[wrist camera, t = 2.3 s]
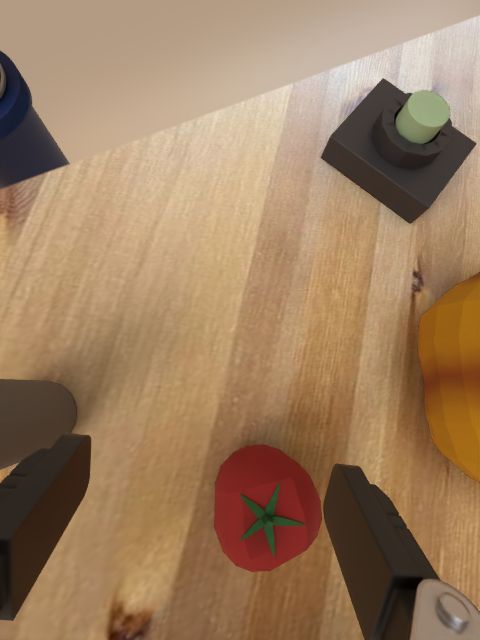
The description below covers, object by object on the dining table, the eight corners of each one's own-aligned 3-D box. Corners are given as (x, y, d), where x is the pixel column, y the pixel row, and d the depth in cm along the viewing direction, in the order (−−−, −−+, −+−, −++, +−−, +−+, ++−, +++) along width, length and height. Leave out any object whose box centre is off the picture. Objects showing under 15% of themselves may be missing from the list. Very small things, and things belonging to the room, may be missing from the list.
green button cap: (387, 127, 30) (399, 108, 28) (408, 102, 31) (422, 82, 29) (421, 151, 29) (436, 134, 27) (442, 126, 30) (458, 107, 28)
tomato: (222, 552, 25) (225, 616, 18) (203, 450, 27) (198, 472, 20) (316, 524, 26) (353, 575, 19) (291, 427, 28) (317, 440, 21)
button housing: (320, 157, 34) (337, 119, 29) (369, 102, 36) (393, 58, 31) (410, 224, 33) (444, 195, 28) (455, 163, 35) (494, 127, 30)
